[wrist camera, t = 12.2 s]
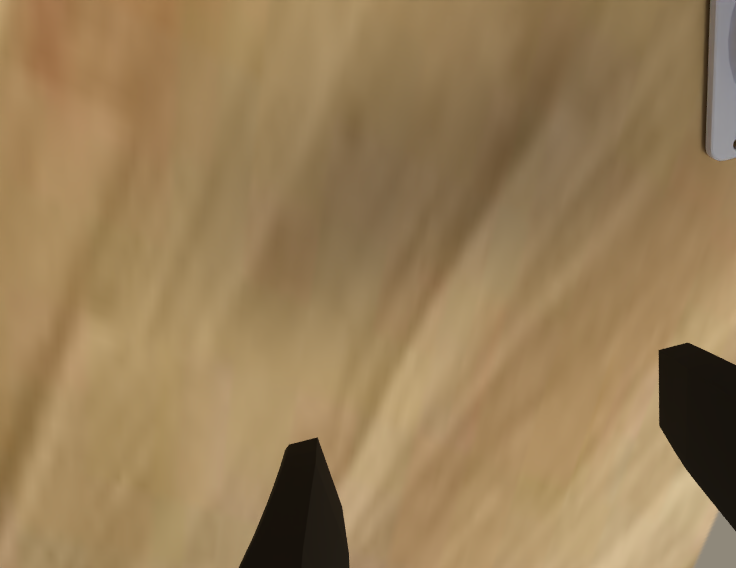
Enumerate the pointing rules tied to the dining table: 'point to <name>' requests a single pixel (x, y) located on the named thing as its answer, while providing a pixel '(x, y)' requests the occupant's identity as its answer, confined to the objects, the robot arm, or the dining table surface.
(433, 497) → the dining table surface
